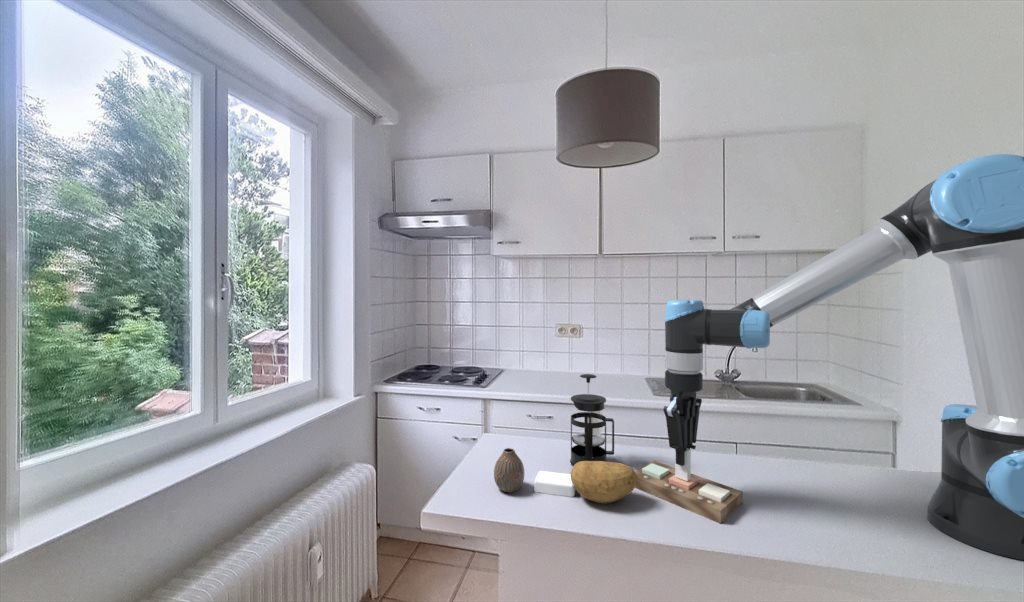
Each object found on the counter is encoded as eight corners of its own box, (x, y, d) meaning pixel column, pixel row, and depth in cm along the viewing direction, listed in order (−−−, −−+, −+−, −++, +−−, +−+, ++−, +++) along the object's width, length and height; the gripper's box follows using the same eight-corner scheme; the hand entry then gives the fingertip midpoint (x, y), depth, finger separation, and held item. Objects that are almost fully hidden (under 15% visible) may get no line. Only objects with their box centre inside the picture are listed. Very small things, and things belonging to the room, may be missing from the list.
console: (742, 503, 83) (742, 490, 83) (720, 523, 76) (720, 509, 76) (654, 470, 98) (654, 459, 98) (628, 485, 91) (628, 473, 91)
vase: (529, 492, 88) (529, 453, 87) (499, 498, 85) (499, 458, 85) (518, 479, 94) (517, 442, 94) (490, 484, 92) (489, 446, 92)
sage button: (669, 482, 92) (669, 469, 91) (659, 488, 89) (659, 475, 89) (652, 475, 95) (652, 463, 95) (641, 481, 92) (641, 468, 92)
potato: (643, 513, 79) (643, 473, 79) (572, 511, 80) (572, 472, 80) (631, 488, 89) (631, 453, 89) (568, 487, 90) (568, 452, 90)
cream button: (729, 505, 82) (729, 490, 82) (720, 513, 79) (720, 498, 79) (707, 496, 85) (707, 483, 85) (698, 504, 82) (698, 489, 82)
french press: (567, 470, 99) (566, 378, 98) (567, 454, 108) (567, 370, 107) (615, 473, 97) (615, 379, 96) (612, 457, 106) (612, 371, 106)
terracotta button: (697, 493, 87) (697, 479, 86) (688, 500, 84) (688, 485, 84) (678, 485, 90) (678, 472, 90) (668, 492, 87) (668, 478, 87)
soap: (577, 487, 91) (577, 473, 91) (574, 499, 86) (574, 485, 85) (538, 482, 93) (538, 469, 93) (533, 493, 88) (533, 480, 88)
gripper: (681, 364, 93) (680, 463, 94) (651, 372, 85) (651, 481, 85) (714, 369, 88) (713, 474, 88) (686, 377, 79) (685, 494, 80)
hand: (682, 477), depth 87 cm, fingers closed
